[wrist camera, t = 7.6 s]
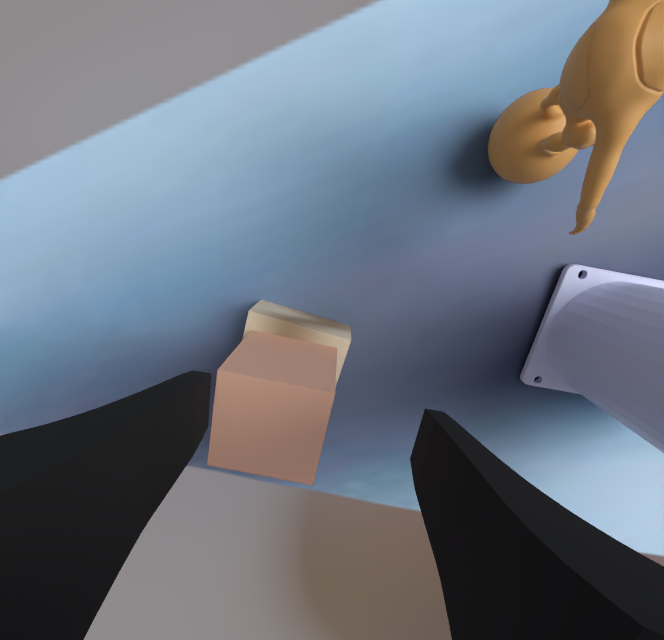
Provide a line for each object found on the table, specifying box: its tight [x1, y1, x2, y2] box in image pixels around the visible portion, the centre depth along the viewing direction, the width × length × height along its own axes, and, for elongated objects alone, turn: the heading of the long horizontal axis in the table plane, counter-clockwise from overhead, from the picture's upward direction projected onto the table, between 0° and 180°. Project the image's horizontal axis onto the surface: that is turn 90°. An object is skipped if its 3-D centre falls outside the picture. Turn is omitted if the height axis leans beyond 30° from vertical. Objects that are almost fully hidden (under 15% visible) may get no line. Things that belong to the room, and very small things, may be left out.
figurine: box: [488, 0, 664, 235], centre depth 11 cm, size 8×6×12 cm
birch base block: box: [242, 300, 351, 384], centre depth 20 cm, size 6×6×3 cm
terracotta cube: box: [207, 330, 337, 485], centre depth 16 cm, size 5×5×5 cm
